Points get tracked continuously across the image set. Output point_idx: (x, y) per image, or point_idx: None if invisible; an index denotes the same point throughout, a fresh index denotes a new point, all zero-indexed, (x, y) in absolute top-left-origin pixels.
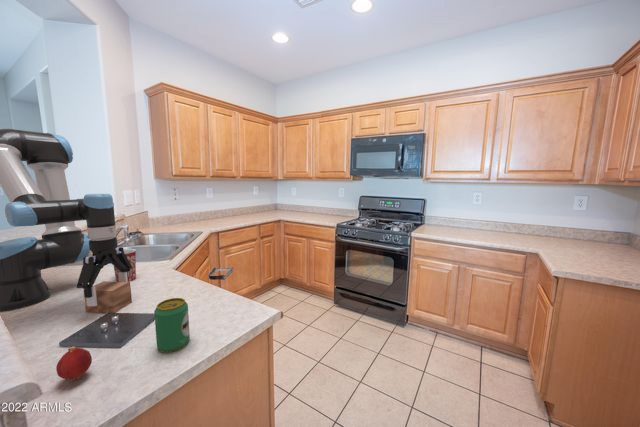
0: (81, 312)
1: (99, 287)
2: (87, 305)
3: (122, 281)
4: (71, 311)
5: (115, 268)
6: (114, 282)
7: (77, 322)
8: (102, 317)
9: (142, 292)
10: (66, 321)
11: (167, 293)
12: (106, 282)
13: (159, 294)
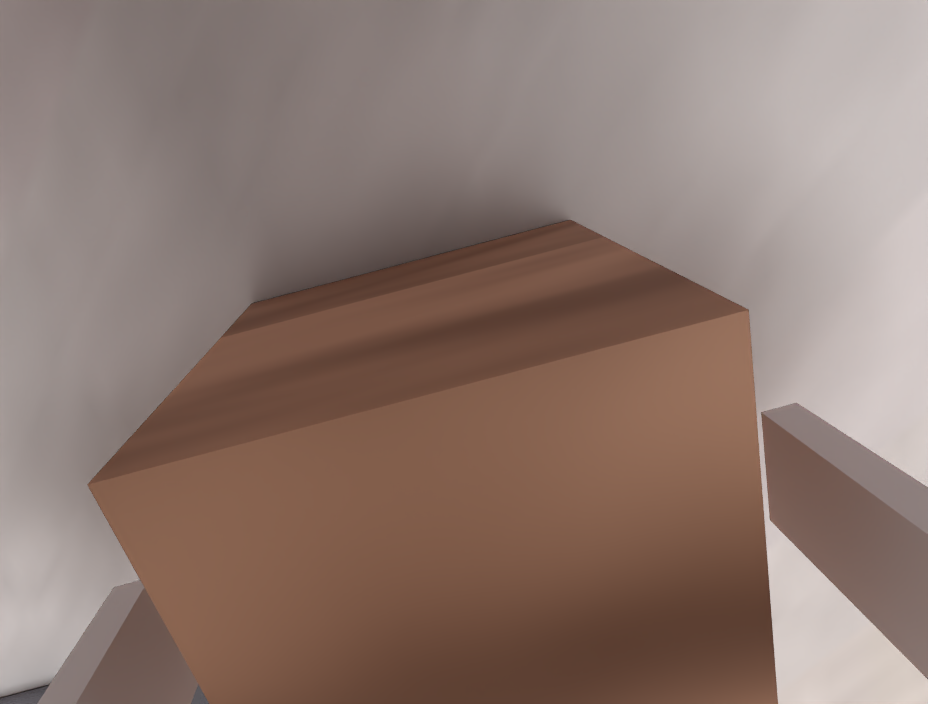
0: (231, 235)
1: (379, 637)
2: (110, 599)
3: (873, 562)
4: (183, 40)
5: None
6: (712, 634)
7: (67, 467)
8: (203, 695)
9: (897, 415)
10: (5, 318)
11: (876, 679)
12: (682, 475)
13: (848, 632)
